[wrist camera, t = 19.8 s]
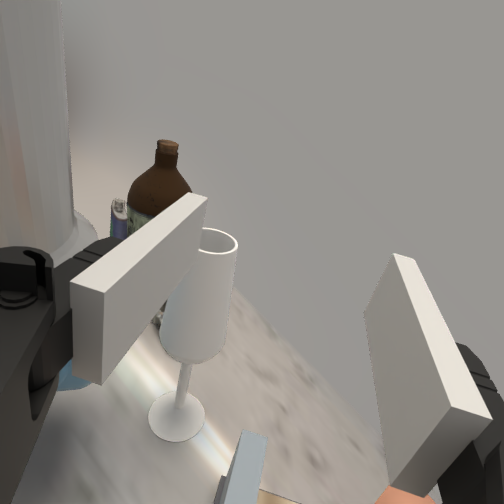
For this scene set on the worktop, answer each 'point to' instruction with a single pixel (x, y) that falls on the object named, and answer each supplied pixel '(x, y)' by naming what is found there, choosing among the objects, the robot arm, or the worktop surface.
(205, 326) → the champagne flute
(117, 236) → the flask
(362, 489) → the worktop surface
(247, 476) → the wall
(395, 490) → the dowel
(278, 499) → the socket block
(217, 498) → the mat
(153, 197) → the olive oil
